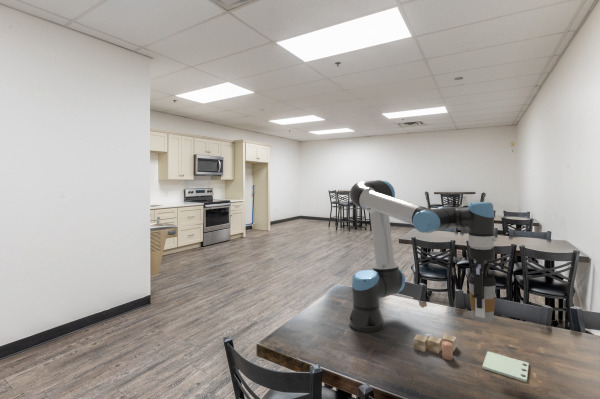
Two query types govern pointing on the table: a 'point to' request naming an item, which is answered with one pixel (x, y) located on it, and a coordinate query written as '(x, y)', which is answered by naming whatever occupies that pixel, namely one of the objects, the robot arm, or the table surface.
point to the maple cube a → (420, 343)
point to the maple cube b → (434, 344)
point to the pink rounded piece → (447, 350)
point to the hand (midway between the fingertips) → (482, 312)
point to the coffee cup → (488, 295)
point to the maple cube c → (450, 340)
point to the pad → (506, 366)
